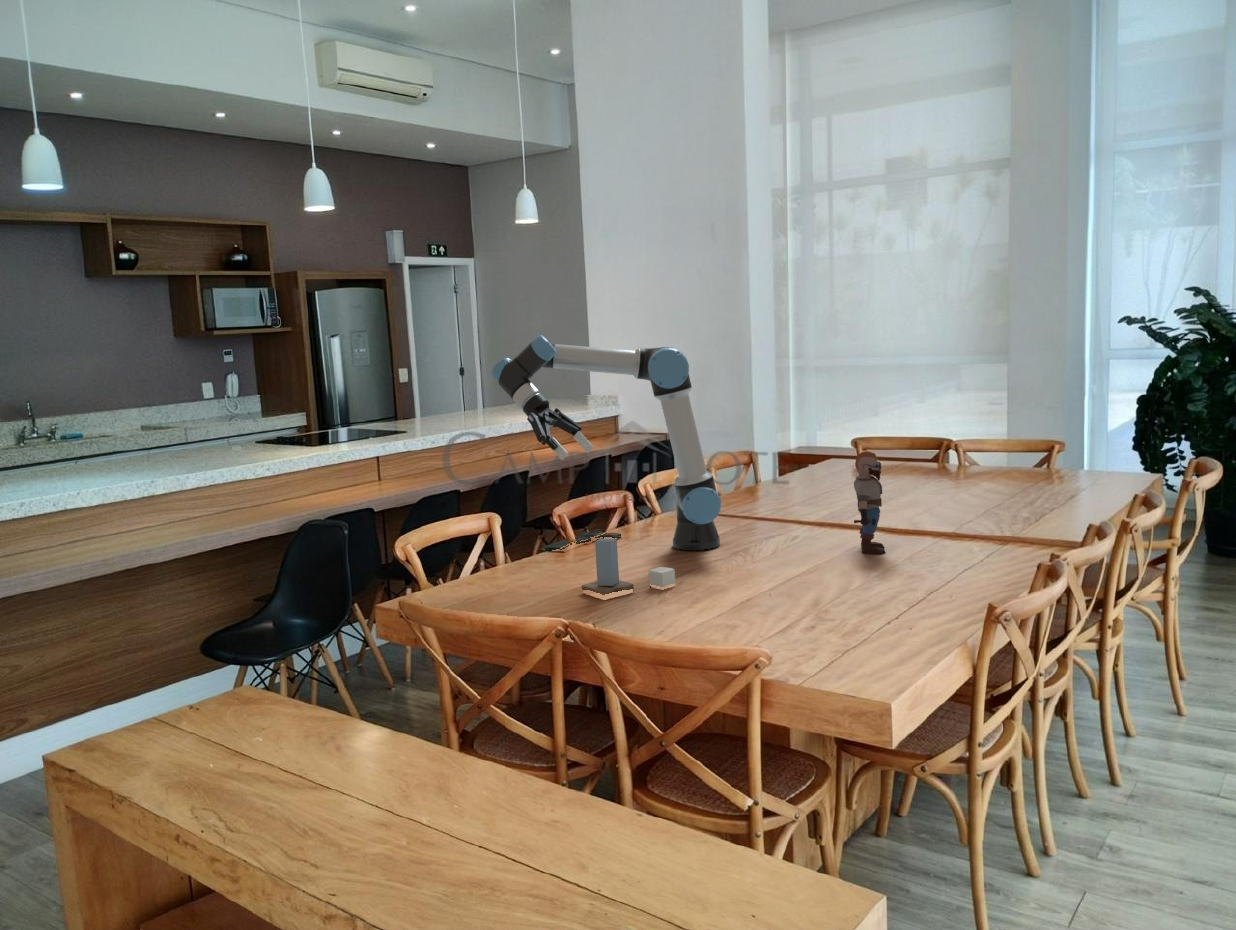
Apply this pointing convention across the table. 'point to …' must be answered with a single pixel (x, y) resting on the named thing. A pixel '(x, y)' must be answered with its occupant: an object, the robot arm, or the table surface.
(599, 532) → the firearm
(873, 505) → the toy
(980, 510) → the table surface
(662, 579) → the grey-green cube
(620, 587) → the slab
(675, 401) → the robot arm
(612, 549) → the pillar
